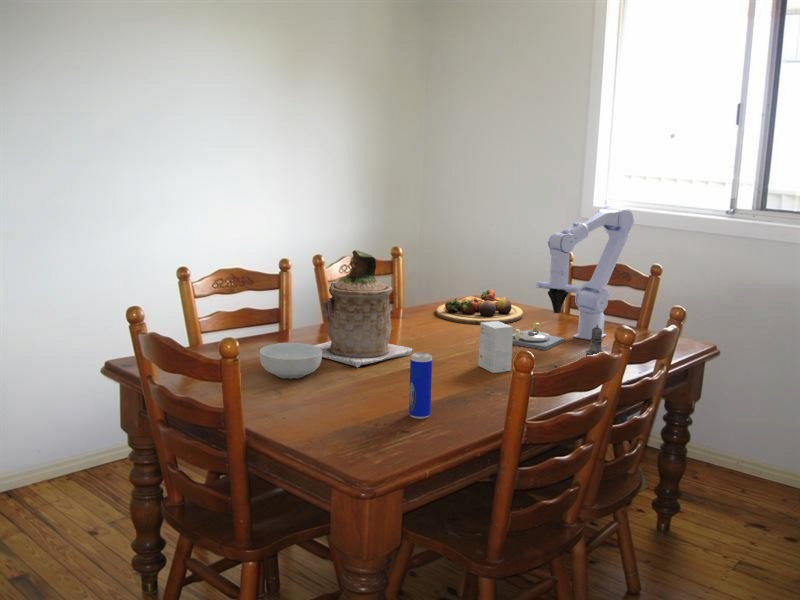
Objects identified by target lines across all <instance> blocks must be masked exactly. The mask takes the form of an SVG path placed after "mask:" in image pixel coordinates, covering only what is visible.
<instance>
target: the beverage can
mask: <svg viewBox="0 0 800 600" xmlns="http://www.w3.org/2000/svg"><path fill="white" fill-rule="evenodd" d="M410 355H411V356H410V363H409V393H408V395H409V397H408V398H409V399H408V400H409V401H408V402H409V403H408V415H409V416H410V417H411V418H413V419H417V420H418V419H419V420H423V419H427V418H429V417H430V416H431V410H432V409H431V408H432V380H433V377H432V376H433V358H432V354H431V353H427V352H415V353H411V354H410Z"/></svg>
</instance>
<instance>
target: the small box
mask: <svg viewBox="0 0 800 600" xmlns="http://www.w3.org/2000/svg"><path fill="white" fill-rule="evenodd" d="M513 333H514V326H512V325H509V324H508V323H506V324H504V323H502V322H499V321H493V322H481V323H480V325H479V343H478V344H479V345H478V362H477V363H478V364H477V365H478V366H479V367H480V368H482V369H484V370H486V371H488V372H490V373H492V374H495V373H496V374H497V373H505V372H511V371H512V357H513V344H512V341H513Z"/></svg>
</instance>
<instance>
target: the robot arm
mask: <svg viewBox="0 0 800 600" xmlns="http://www.w3.org/2000/svg"><path fill="white" fill-rule="evenodd" d="M634 222H635V220H634V215H633V212H632V210H631V209H629V208H620V207H619V208H618V207H611V206H604V207H603V208H600V209H598V213H596V214H595V215H592V217H590V218H589V219H587V220H585V221H584V222H580V221H579V222H576V221H575V222H573V223H572V225H570V226H568V227H567V228H563V229H562V231H560V232H554V233H553V234H551V235H550V236H549V240H548V241H547V246H548V249H549V254H550V269H549V270H550V274H549V276H550V277H549V281H536V289H545V290H546V289H547V290H548V291H547V295H548V297H549V299H550V302H551V304H552V309H553V310H552V311H553V314H560V313H561V310H562V307H563V304H564V301H565V300H566V298H567V296H568V295H569V293H572V294H573V293H574V294H575V298H574V300H575V301H574V303H575V305H576V307H577V310H578V311H579V313H578V328H577V333H576V334H574V335H573V336H572V337H573V338H577V339H582V340H587V341H588V340H589V341H591V340H590V339H591V338H592V329H593V328H596V327H597V325H598V327H599V328H600V329H601V330H602V338H604V337H605V336H607V334H606V333H604V331H605V329H604V328H605V314H604V313H605V312H604V311H605V310H606V309H607V307H608V303H609V298H610V295H611V293H610V290H609V289H608V287H607V285H608V283H609V281H610V279H611V277H612V274H613V272H614V269H615V268H616V266H617V262H618V260H619V259H620V256H621V254H622V252H623V249H624V247H625V244H627V243H626V242H627V241H628V237H629V233H630V232H631V229H632V228H633V227H632V226H633V224H634ZM601 227H602V228H603V229H604V231H605V233H606V234H607V235H608V240H607V243H606V245H605V247H604V249H603V252H601V253H602V254H601V256H600V258H599V260H598V263H597V265H596V267H595V269H594V272H593V274H592V276H591V278H590V280H588V281H586V282H585V283H583V284H582V286H578V285H577V286H576V285H573V284H569V271H570V255H571V254H570V253H571V252H572V251H573V250H574V248H575V246H576V245H577V244H579V243H581V242H582V241H584V240H585V239H587V238H588V237H589V233H590V232H592V231H595V230H597V229H599V228H601Z"/></svg>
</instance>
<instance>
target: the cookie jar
mask: <svg viewBox="0 0 800 600" xmlns="http://www.w3.org/2000/svg"><path fill="white" fill-rule="evenodd" d="M349 265H350V266H351V268H350V271H349V273H347V274H345V275H344V276H342V277H341V278H340V279H339V280H338V281H337V282H336V281H332V282H331V283H330V285H329V288H328V291H329V294H330V295H331V297H328V298H327V300H326V301H325V300H324V301H323V302H322V304H321V308H322V311H323V313H324V316H325V318H326V320H327V322H326V334H327V336H328V337H329V339H330V340H329V341H326V342H323V343H318V344H312V345H313V346H316V347H318V348H320V349H321V350H322V358H325V359H329V360H332V361H336V362H339V363H342V364H346V365H348V366H349V365H350V366H353V367H354V368H357V369H359V368H358V367H361V366H363V365H368V364H374V363H377V362H382V361H386V360H389V359H390V360H391V359H395V358H399V357H405V356H410V355H412V351H413V348H412V347H408V346H403V345H397V344H391V343H389V342H390V341H389V340H390V337H391V331H392V320H391V306H390V305H391V304H390V295H391V293H392V292H393V287H392V286H390V285H389V284H386V283H385V284H384V283H382V282H381V281H379V280H378V279H377V278H375V275H376V270H377V260H376V258H375V256H373V255H372V254H368V253H366V252H363V251H360V250H359V249H357V250H356V249H353V250H352V257H351V259H350V261H349Z"/></svg>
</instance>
